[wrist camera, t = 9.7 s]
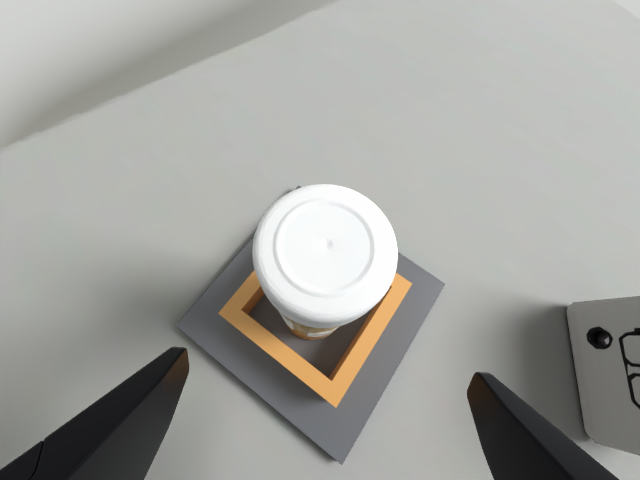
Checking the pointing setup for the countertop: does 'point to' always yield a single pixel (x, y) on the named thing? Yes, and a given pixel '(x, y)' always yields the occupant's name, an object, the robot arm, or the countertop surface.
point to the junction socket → (311, 349)
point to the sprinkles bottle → (324, 257)
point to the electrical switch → (608, 369)
